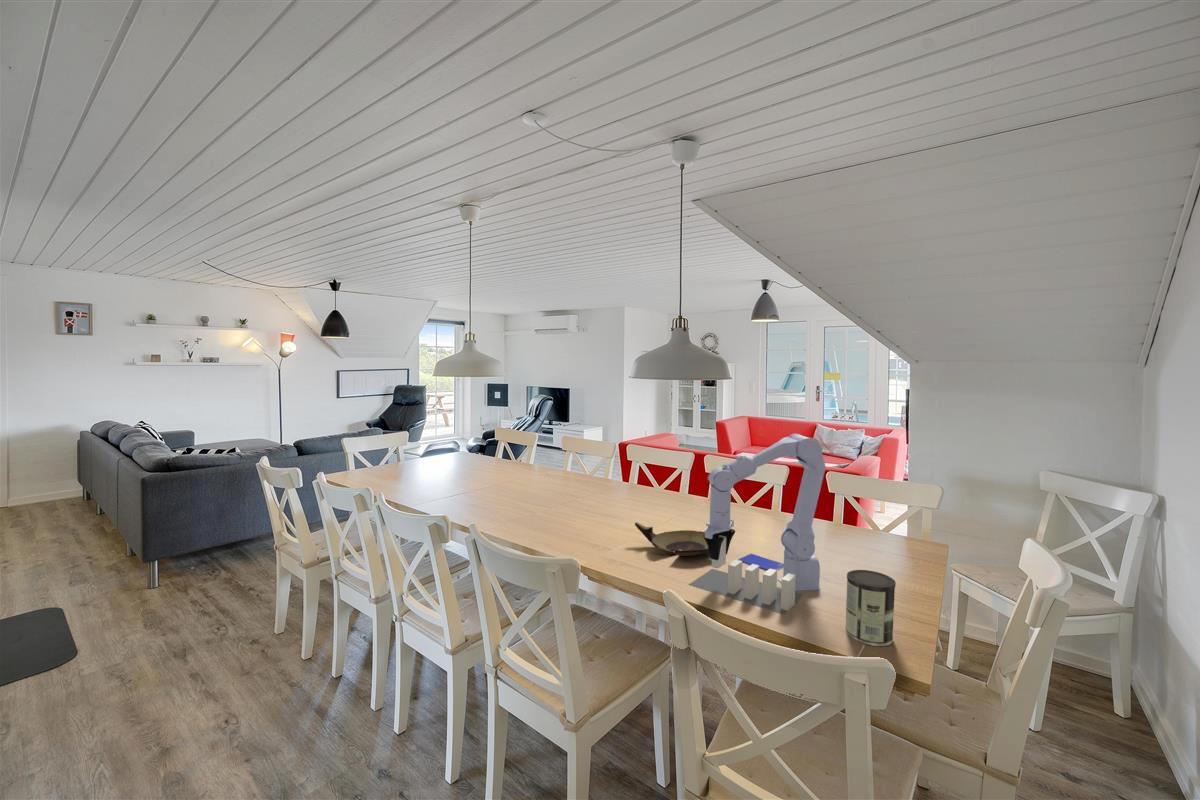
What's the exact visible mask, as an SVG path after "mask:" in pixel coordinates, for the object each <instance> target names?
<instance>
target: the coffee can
mask: <svg viewBox="0 0 1200 800" xmlns="http://www.w3.org/2000/svg"><path fill="white" fill-rule="evenodd" d="M896 585H897V583H896V581H895V579H894V578H892V577H891V576H889V575H887V574H884V573H882V572H878V571H874V570H867V569H853V570H850V571H848V572H847V573H846V604H845V605H846V607H845V632H846V633H847V635H848V636H849V637H851V638H853V639H855V641H859V642H861V643H863V644H864V645H867V646H872V647H886V646H889V645H892V643H893V641H894V639H893V636H894V611H895V610H894V609H895V593H896V592H895V589H896Z"/></svg>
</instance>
